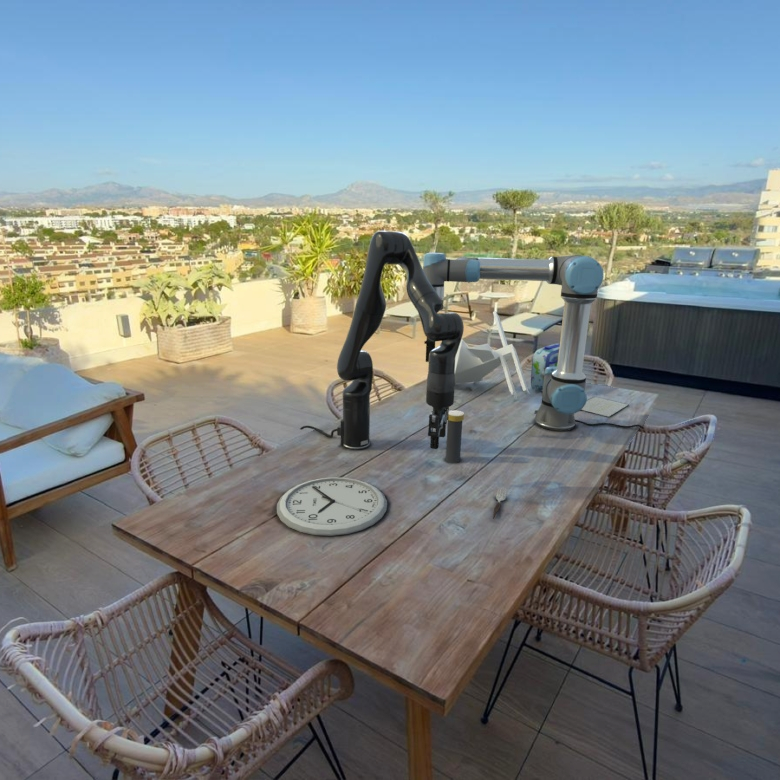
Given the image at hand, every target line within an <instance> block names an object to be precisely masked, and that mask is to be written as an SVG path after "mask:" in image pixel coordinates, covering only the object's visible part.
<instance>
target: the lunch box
mask: <svg viewBox="0 0 780 780" xmlns="http://www.w3.org/2000/svg"><path fill="white" fill-rule="evenodd" d="M559 346H560V343H553V344H550V345H547V346H546V345H545V346H544V347H541V348H538V349H537V350H536V351H535V352H534V354H533V357H532V362H531V371H530V372H531V374H530V387H531V389H533V390H539V391H543V382H544V373H545V369H546V368H547V367H553V366H557V364H558V355H559Z"/></svg>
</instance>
